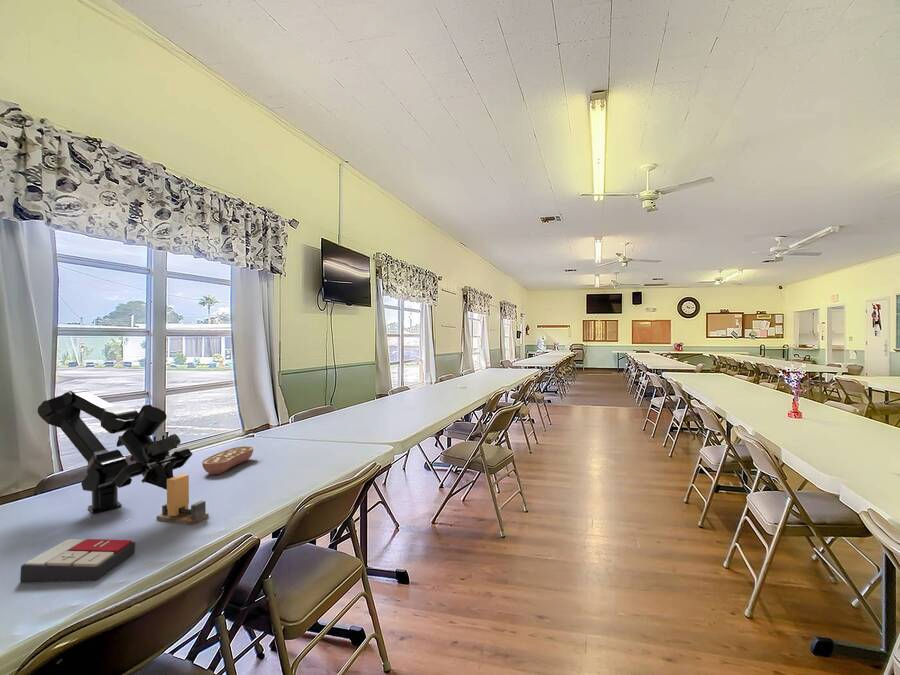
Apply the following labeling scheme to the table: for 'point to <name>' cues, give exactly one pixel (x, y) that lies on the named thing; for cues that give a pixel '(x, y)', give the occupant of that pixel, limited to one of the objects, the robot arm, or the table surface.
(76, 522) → the table surface
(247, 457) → the brown oval piece
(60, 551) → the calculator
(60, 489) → the table surface
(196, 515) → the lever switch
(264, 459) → the table surface
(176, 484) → the orange slab
